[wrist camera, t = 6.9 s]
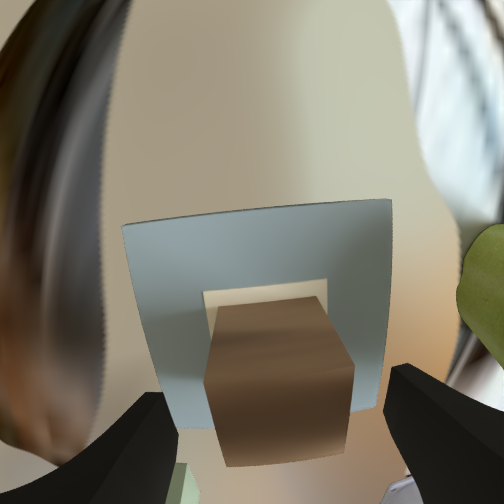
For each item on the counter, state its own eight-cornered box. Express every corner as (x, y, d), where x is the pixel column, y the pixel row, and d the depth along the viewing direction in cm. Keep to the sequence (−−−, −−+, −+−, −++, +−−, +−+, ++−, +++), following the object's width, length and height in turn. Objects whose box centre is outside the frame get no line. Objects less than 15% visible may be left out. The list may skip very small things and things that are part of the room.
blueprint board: (372, 400, 14) (376, 407, 14) (177, 420, 15) (175, 429, 14) (385, 198, 12) (392, 199, 11) (126, 223, 12) (120, 226, 11)
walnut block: (316, 373, 13) (343, 453, 8) (231, 382, 13) (226, 467, 8) (316, 295, 12) (354, 365, 7) (218, 306, 12) (202, 383, 7)
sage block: (200, 490, 17) (194, 543, 12) (150, 486, 17) (138, 535, 12) (187, 463, 16) (177, 523, 11) (132, 458, 16) (114, 512, 11)
